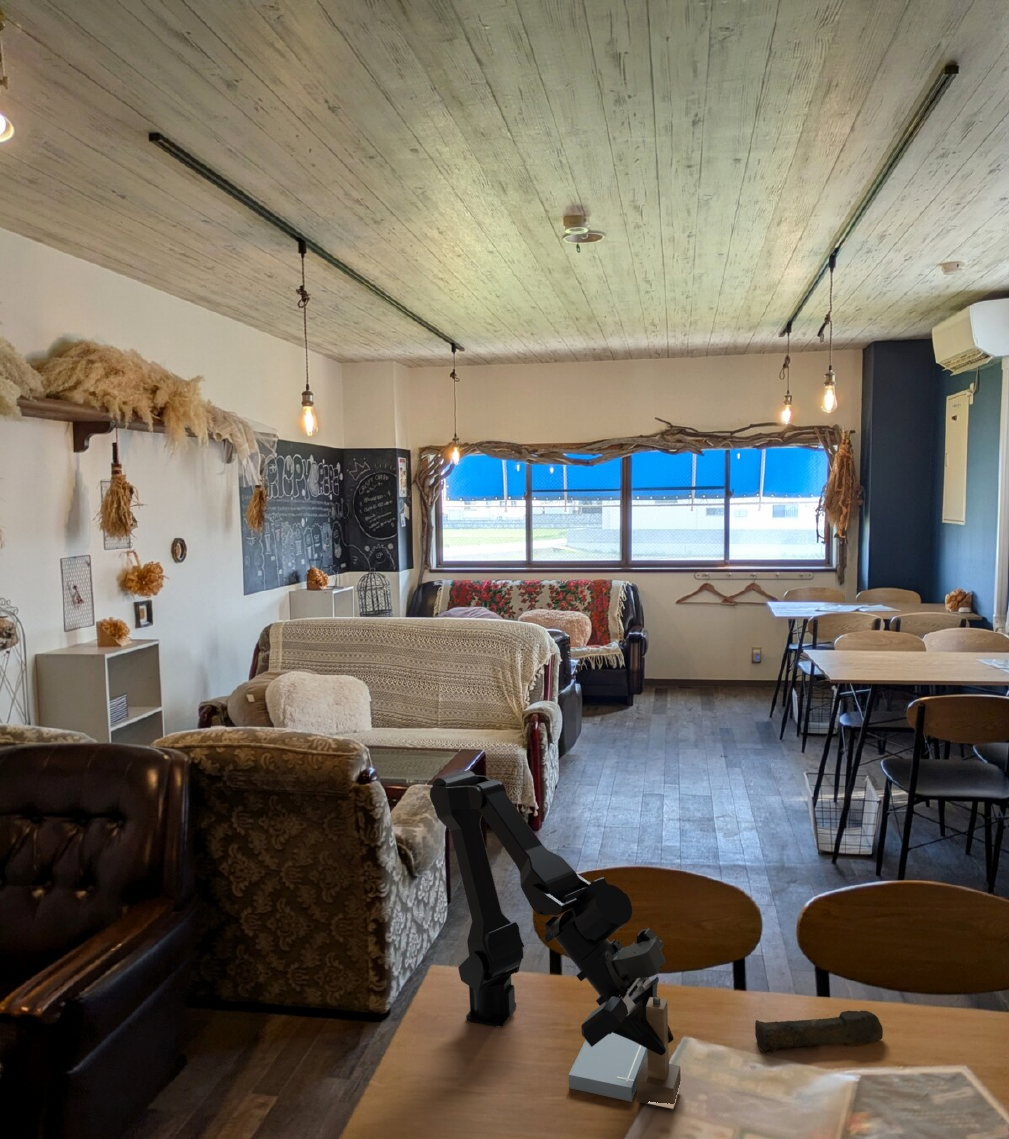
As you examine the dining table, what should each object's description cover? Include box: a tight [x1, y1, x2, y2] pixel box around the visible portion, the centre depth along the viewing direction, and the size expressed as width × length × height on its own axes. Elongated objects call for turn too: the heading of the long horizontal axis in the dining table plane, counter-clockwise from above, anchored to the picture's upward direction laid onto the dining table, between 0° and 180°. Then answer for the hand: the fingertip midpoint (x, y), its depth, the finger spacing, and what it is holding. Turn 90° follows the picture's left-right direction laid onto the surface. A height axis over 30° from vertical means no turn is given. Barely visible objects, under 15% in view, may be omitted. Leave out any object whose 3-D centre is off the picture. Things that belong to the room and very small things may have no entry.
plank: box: [568, 1033, 647, 1103], centre depth 130 cm, size 9×19×2 cm, turn 158°
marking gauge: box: [636, 996, 682, 1105], centre depth 119 cm, size 5×5×14 cm
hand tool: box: [754, 1010, 884, 1053], centre depth 130 cm, size 19×4×5 cm, turn 90°
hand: (667, 1047), depth 119 cm, fingers closed on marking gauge, 3 cm apart
